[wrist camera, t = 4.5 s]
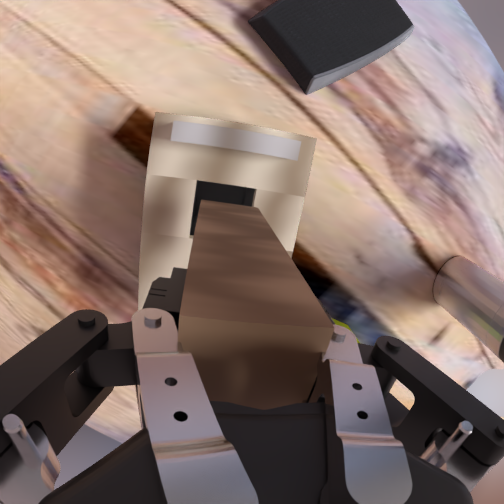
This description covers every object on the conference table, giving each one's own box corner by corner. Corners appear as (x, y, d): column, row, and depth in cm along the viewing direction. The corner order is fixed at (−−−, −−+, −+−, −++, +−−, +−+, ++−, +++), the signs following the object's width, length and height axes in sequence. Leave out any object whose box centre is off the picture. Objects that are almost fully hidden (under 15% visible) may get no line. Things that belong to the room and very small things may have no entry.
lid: (313, 138, 27) (326, 138, 23) (267, 344, 34) (272, 363, 30) (157, 113, 24) (150, 109, 21) (140, 331, 31) (134, 350, 28)
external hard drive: (410, 41, 31) (427, 35, 27) (307, 100, 33) (318, 96, 30) (356, -31, 27) (369, -42, 23) (242, 18, 29) (246, 5, 25)
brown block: (257, 207, 22) (334, 327, 8) (248, 260, 23) (296, 423, 9) (201, 199, 21) (179, 315, 7) (194, 253, 22) (174, 419, 8)
